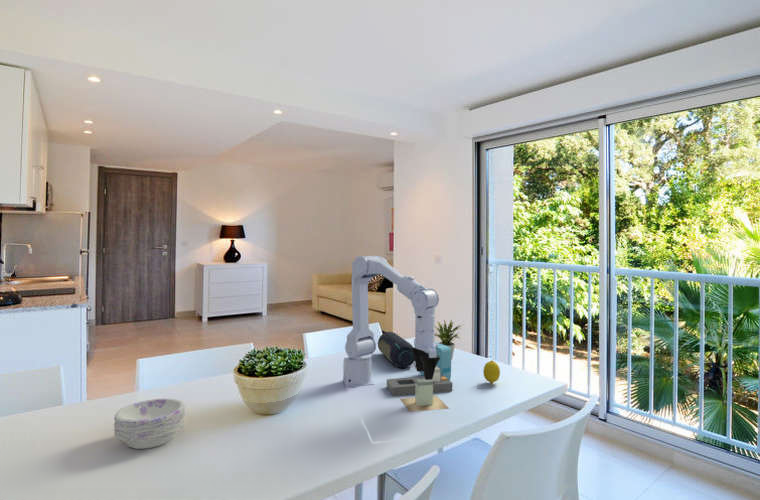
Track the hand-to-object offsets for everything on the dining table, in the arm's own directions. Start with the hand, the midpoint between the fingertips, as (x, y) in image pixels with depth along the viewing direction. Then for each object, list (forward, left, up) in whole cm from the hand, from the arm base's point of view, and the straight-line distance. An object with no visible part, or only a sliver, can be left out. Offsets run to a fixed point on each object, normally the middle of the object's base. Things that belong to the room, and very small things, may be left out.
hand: (424, 375), depth 129 cm
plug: (0, 0, -9) cm, 9 cm away
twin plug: (+7, +12, -9) cm, 17 cm away
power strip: (+2, +12, -9) cm, 15 cm away
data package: (+12, +23, -9) cm, 28 cm away
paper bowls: (-73, -7, -9) cm, 74 cm away
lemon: (+29, +13, -9) cm, 33 cm away
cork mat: (0, 0, -9) cm, 9 cm away
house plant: (+25, +43, -9) cm, 51 cm away
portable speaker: (+4, +46, -9) cm, 47 cm away
